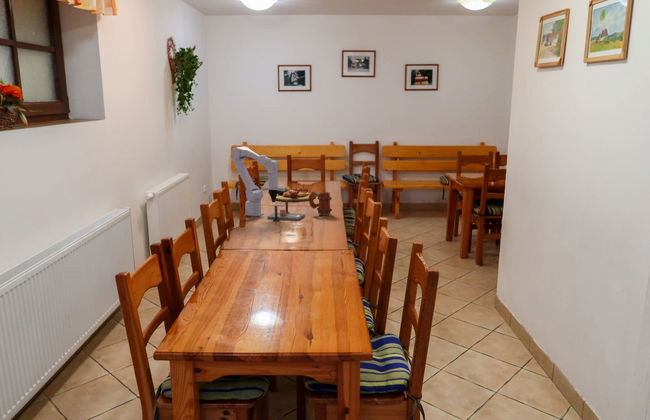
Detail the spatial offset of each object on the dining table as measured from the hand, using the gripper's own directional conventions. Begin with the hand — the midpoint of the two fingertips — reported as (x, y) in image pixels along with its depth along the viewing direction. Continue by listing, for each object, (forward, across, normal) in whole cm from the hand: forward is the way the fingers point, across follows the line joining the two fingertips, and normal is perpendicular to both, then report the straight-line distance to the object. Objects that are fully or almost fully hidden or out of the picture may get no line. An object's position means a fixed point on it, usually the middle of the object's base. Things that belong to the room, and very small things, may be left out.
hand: (273, 202), depth 314 cm
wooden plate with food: (+10, -10, +63) cm, 64 cm away
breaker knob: (+8, +6, 0) cm, 10 cm away
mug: (+10, +26, +13) cm, 31 cm away
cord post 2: (+9, +5, +9) cm, 14 cm away
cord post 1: (+9, +5, -9) cm, 14 cm away
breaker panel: (+9, +8, 0) cm, 12 cm away
